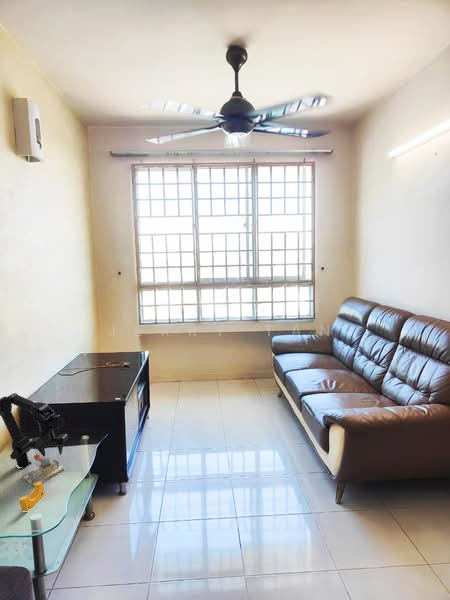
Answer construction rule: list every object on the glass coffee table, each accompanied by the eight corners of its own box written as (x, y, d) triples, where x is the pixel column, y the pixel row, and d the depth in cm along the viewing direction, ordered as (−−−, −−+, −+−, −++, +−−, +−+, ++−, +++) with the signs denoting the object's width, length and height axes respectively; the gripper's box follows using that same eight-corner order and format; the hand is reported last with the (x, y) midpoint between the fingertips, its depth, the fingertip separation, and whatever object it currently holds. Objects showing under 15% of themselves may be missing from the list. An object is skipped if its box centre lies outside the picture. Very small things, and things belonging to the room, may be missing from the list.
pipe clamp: (36, 494, 179) (33, 482, 178) (45, 494, 178) (41, 481, 177) (19, 513, 167) (15, 499, 166) (27, 512, 166) (24, 499, 165)
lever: (32, 460, 201) (31, 456, 200) (40, 456, 204) (39, 452, 203) (43, 467, 192) (42, 463, 191) (51, 463, 195) (50, 459, 194)
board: (22, 477, 196) (21, 475, 195) (50, 462, 207) (50, 460, 206) (34, 486, 185) (34, 485, 185) (64, 470, 196) (63, 468, 196)
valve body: (28, 480, 191) (26, 472, 190) (55, 465, 201) (53, 457, 200) (33, 483, 187) (31, 475, 186) (60, 468, 197) (58, 460, 196)
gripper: (20, 438, 192) (27, 466, 194) (55, 433, 190) (62, 462, 193) (32, 427, 203) (39, 454, 205) (65, 423, 201) (72, 450, 204)
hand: (52, 455), depth 201 cm, fingers open, 9 cm apart
